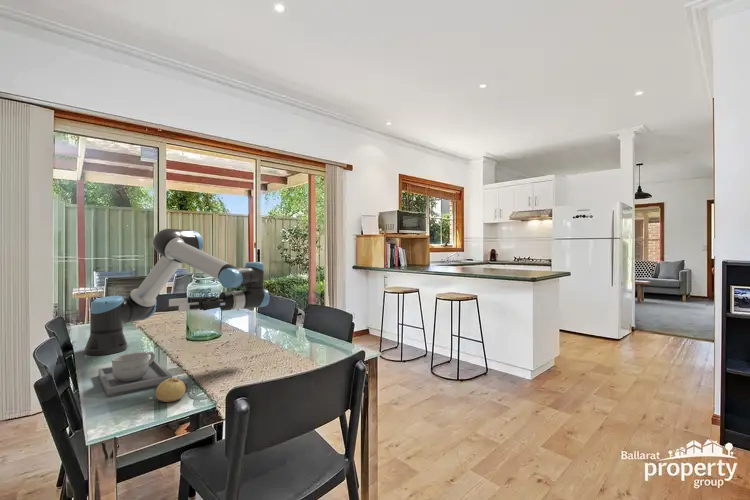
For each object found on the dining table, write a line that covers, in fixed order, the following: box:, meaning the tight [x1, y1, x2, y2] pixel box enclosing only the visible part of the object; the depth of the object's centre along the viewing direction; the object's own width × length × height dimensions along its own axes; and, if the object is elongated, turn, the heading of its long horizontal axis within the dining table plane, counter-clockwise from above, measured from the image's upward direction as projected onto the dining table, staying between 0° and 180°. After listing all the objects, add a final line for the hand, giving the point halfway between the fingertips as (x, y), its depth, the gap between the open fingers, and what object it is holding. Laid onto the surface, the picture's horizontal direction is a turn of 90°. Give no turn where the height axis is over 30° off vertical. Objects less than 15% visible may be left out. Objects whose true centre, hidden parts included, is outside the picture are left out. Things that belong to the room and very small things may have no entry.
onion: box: [155, 376, 186, 403], centre depth 114 cm, size 8×8×7 cm
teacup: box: [111, 351, 156, 382], centre depth 129 cm, size 14×11×8 cm
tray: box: [97, 359, 173, 398], centre depth 130 cm, size 24×18×2 cm
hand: (173, 305), depth 137 cm, fingers open, 13 cm apart
